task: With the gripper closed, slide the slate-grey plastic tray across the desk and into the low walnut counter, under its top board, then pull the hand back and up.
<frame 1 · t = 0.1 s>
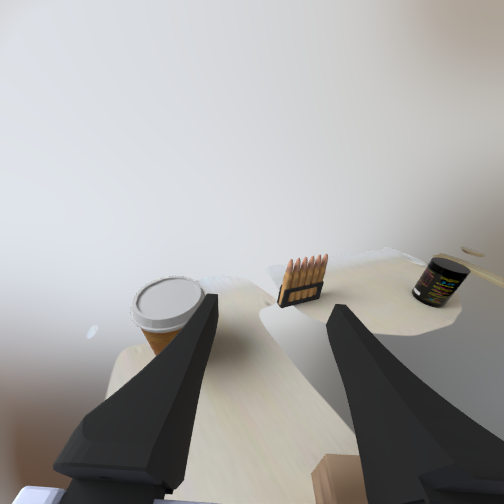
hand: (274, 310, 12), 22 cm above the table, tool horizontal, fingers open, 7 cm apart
supplement container: (426, 299, 48), on the table
ammunition clip: (298, 301, 44), on the table
disposable coffee cup: (178, 350, 31), on the table
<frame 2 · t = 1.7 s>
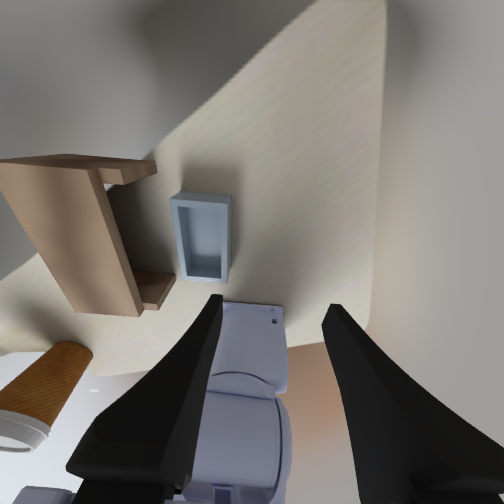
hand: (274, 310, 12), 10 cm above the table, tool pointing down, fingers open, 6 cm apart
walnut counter: (130, 228, 21), on the table
disposable coffee cup: (75, 350, 34), on the table
grey tray: (208, 233, 21), on the table
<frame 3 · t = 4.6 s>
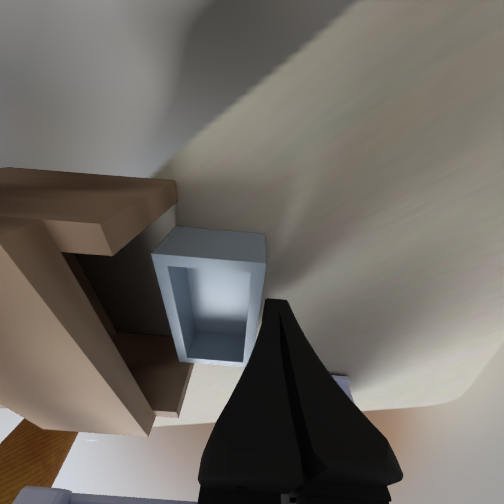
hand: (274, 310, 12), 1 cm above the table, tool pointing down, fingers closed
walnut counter: (132, 282, 13), on the table
disposable coffee cup: (65, 407, 27), on the table
grey tray: (222, 286, 13), on the table
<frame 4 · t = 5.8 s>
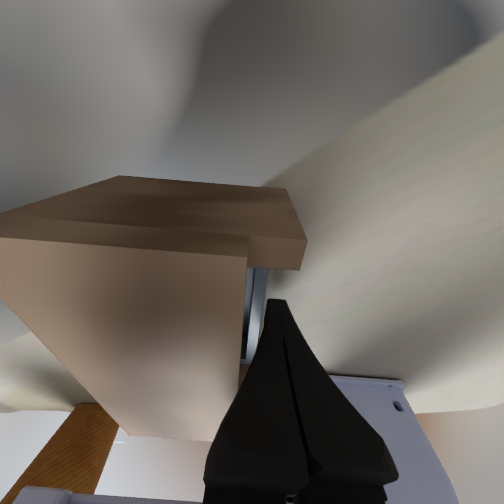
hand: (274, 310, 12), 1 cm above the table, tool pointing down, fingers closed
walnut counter: (209, 288, 13), on the table
disposable coffee cup: (101, 410, 27), on the table
grey tray: (225, 284, 13), on the table
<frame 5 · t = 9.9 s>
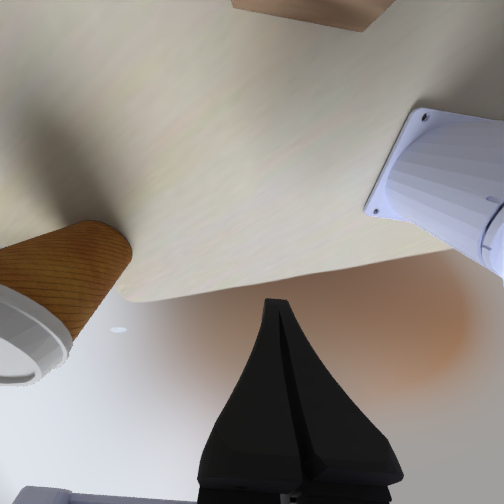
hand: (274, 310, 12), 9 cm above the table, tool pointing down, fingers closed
disposable coffee cup: (104, 245, 21), on the table
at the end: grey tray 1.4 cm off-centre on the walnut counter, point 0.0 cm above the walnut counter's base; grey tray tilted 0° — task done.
